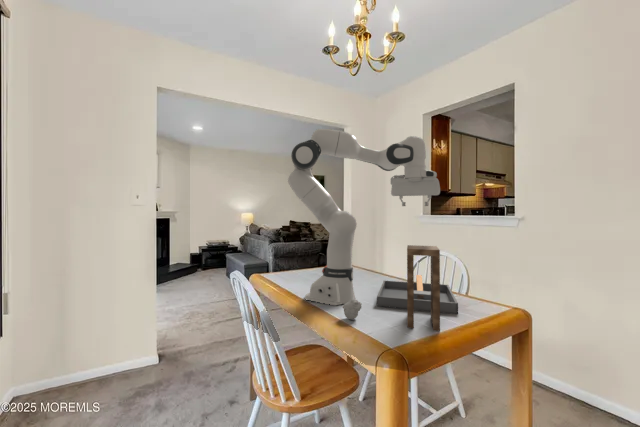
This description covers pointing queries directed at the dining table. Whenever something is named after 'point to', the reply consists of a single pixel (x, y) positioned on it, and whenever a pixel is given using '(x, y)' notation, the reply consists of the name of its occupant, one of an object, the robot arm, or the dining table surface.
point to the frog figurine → (352, 309)
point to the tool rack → (435, 283)
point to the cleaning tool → (421, 290)
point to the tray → (396, 297)
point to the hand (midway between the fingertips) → (415, 206)
